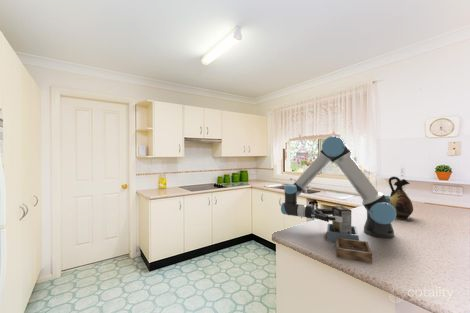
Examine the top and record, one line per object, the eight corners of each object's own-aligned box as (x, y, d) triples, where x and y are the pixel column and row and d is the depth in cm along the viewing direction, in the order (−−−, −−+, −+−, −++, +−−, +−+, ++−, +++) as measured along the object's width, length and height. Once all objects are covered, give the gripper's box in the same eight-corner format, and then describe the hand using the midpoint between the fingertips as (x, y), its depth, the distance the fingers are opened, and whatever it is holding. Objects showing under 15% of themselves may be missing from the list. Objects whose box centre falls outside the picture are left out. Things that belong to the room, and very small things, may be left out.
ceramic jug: (411, 216, 160) (411, 176, 160) (414, 222, 147) (414, 178, 147) (383, 213, 169) (383, 175, 169) (384, 218, 156) (384, 177, 156)
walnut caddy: (367, 249, 106) (367, 241, 106) (372, 262, 94) (372, 253, 93) (336, 245, 112) (336, 237, 112) (336, 257, 99) (336, 248, 99)
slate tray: (355, 235, 125) (355, 226, 125) (358, 245, 112) (358, 235, 112) (327, 231, 132) (327, 223, 132) (327, 240, 118) (327, 231, 118)
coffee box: (331, 233, 126) (331, 206, 126) (342, 232, 126) (342, 205, 126) (340, 239, 117) (340, 209, 117) (352, 238, 117) (351, 209, 117)
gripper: (311, 212, 143) (347, 217, 131) (299, 222, 123) (340, 229, 111) (311, 201, 143) (347, 205, 131) (299, 209, 123) (340, 215, 111)
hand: (344, 216), depth 121 cm, fingers open, 13 cm apart
